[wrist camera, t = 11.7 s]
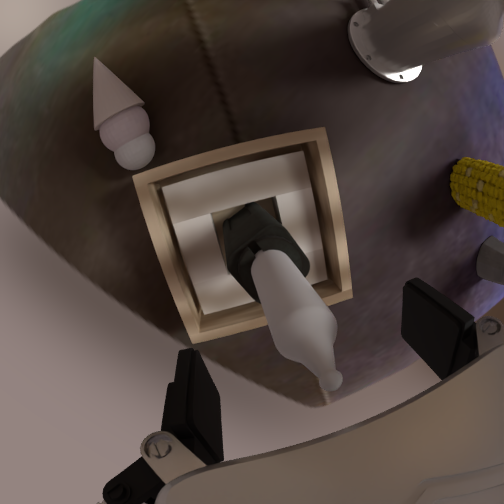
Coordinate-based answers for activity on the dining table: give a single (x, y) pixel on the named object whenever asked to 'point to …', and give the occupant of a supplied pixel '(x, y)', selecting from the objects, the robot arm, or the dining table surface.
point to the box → (228, 204)
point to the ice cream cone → (121, 119)
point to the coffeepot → (491, 261)
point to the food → (479, 188)
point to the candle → (282, 290)
